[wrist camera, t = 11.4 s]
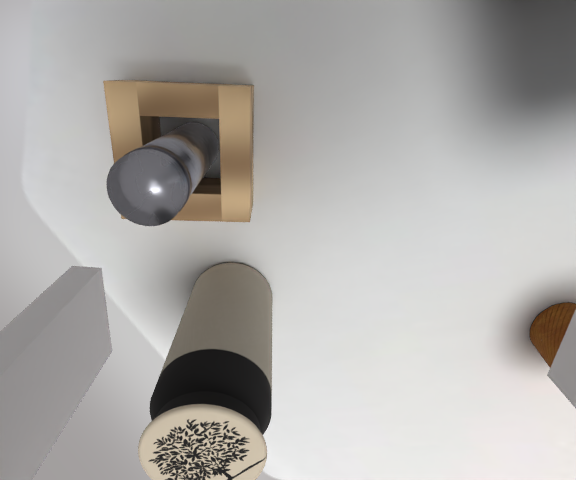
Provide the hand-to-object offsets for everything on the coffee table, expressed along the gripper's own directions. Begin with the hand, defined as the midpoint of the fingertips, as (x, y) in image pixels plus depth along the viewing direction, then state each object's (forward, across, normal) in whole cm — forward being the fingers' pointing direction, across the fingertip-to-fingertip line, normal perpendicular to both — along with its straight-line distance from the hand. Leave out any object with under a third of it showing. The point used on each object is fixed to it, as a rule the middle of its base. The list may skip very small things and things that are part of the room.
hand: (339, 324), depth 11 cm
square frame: (+25, -9, 0) cm, 26 cm away
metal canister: (+25, -9, 0) cm, 26 cm away
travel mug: (+25, -6, -15) cm, 30 cm away
